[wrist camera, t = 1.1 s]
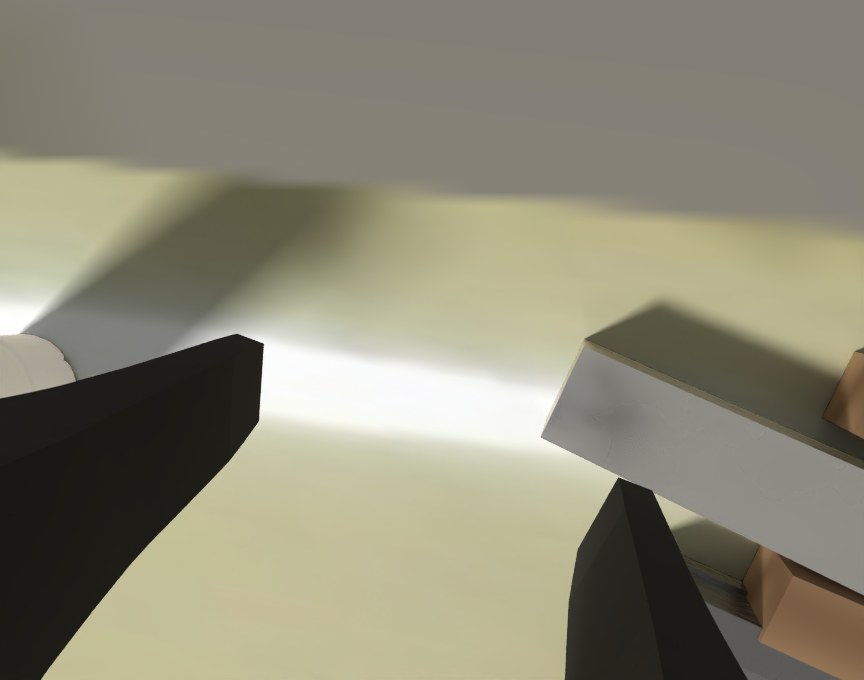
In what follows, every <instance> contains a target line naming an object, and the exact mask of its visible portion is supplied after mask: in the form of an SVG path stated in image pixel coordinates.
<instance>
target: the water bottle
mask: <svg viewBox="0 0 864 680" xmlns="http://www.w3.org/2000/svg"><path fill="white" fill-rule="evenodd" d="M75 381H76V380H75V377H74V374H73V371H72V369H71V367H70V365H69V364H68V363H67V362H66V361H64V356H63V354H62V353H61V351H60V350H59V349H58V348H57V347H56V346H54V345H53V344H52V343H51V342H49V341H47V340H45V339H42V338H39V337H38V336H35V335H29V334H17V335H3V336H0V398H5V397H10V396H15V395H20V394H25V393H30V392H34V391H39V390H43V389H47V388H52V387H56V386H60V385H64V384H68V383H72V382H75Z"/></svg>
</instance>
